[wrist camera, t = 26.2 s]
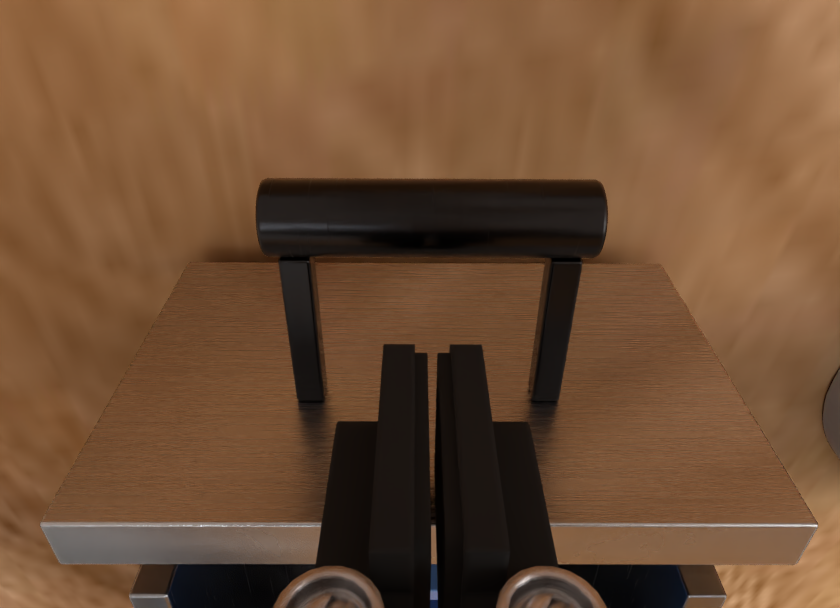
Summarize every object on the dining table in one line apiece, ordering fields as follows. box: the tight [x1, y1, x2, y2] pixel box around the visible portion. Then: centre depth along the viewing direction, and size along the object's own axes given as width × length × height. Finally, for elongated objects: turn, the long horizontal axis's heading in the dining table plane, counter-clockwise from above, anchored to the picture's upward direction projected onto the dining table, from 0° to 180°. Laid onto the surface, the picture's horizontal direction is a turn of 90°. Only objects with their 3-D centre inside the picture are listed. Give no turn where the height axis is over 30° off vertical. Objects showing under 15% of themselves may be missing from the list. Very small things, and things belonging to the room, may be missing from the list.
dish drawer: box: [40, 178, 818, 608], centre depth 18 cm, size 20×14×9 cm, turn 0°
